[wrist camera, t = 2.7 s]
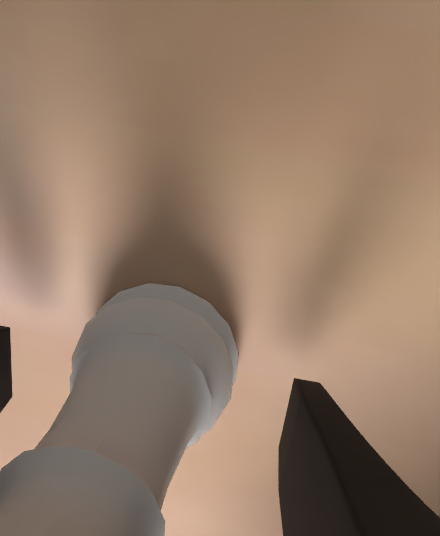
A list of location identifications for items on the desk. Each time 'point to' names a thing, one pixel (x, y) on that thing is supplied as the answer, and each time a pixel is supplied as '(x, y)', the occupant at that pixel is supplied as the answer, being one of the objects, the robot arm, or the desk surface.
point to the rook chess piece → (124, 418)
